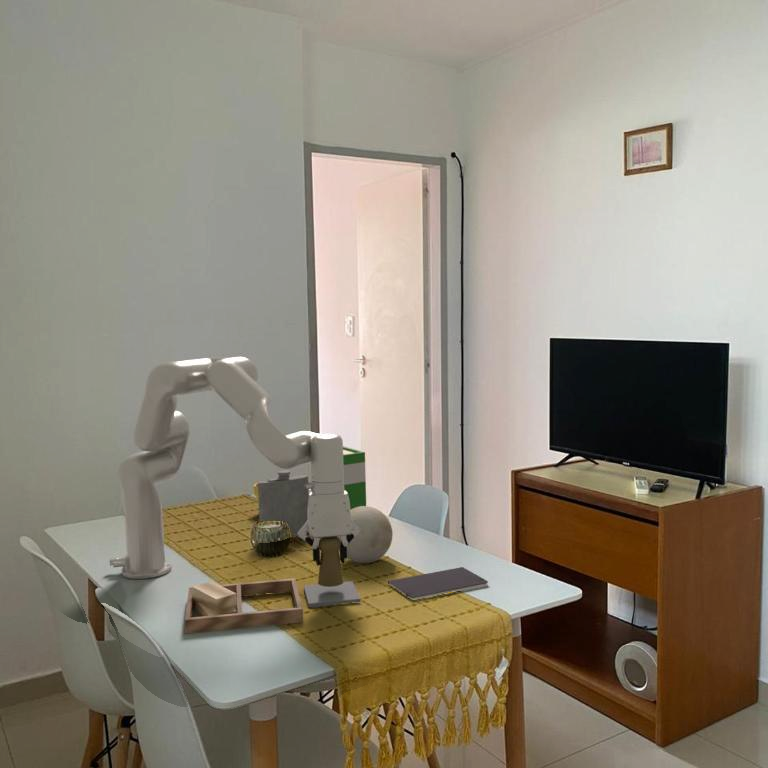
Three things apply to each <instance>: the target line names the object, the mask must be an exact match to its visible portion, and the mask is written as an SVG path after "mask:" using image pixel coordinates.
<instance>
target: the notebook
mask: <svg viewBox="0 0 768 768" xmlns="http://www.w3.org/2000/svg"><path fill="white" fill-rule="evenodd" d="M488 583H489V581H488V580H486V579H485V578H482V577H481V576H480V575H477V574H476V573H474V572H472V571H471V570H469V569H467V568H466V567H464V566H461V567H456V568H455V567H454V568H450V569H445V570H439V571H435V572H434V571H433V572H429V573H423V574H417V575H414V576H413V575H411V576H406V577H402V578H398V579H397V578H396V579H391V580H388V581H387V585H388V584H390V585H392V586H393V587H395V588H396V589H397V590H398V591H400V592H401V593H403V594H404V595H406V597H409V598H410V599H420V598H425V597H429V596H434V595H439V594H444V593H448V592H452V591H461V592H466V591H470V590H471V591H472V590H475V589H480V588H485V587H488ZM390 585H389V586H390ZM393 587H392V588H393ZM396 589H395V590H396ZM397 590H396V591H397ZM398 591H397V592H398ZM400 592H399V593H400ZM401 593H400V594H401ZM403 594H402V595H403ZM404 595H403V596H404ZM406 597H405V598H406ZM410 599H409V600H410Z"/></svg>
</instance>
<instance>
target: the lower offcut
mask: <svg viewBox="0 0 768 768" xmlns="http://www.w3.org/2000/svg"><path fill="white" fill-rule="evenodd" d="M193 609H195V610H196V612H197V613H198V615H200V617H203V616H213V615H224V614H235V613H237V610H236V609H235V607H234V608H231V609H227V610H224V611H221V612H215V611H213V610H211V609H210V608H208V607H206V606H204V605H202V604H200V603H199V602H197V601H195V600H193Z"/></svg>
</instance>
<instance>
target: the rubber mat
mask: <svg viewBox="0 0 768 768" xmlns="http://www.w3.org/2000/svg"><path fill="white" fill-rule="evenodd" d="M303 592H304V595H305V600H306V599H307V600H306V603H307V606H308V608H309V607H312V608H320V607H319V606H323V607H329V606H328V605H334V606H336V605H335V604H342V603H352V602H361V603H362V601H361V596H360V595H359V593H358V590H357V588H356V586H355V584H354V581H343V584H341V585H338V586H334V587H325V586H321V585H319V584H317V583H316V584H307V585H303Z"/></svg>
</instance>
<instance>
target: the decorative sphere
mask: <svg viewBox="0 0 768 768" xmlns="http://www.w3.org/2000/svg"><path fill="white" fill-rule="evenodd" d="M350 511H351V519H352V520H353V521H354V522H355V523H356V524H357V526H358V527H359V528H360V529H361V531H360V532H359V533H358V534H357V535H356V536H355V537H354V538H353V539H352V540H351V542H350V543H349V544H348V546H347V558H346V559H349V560H351V561H352V562H355V563H359V564H371V563H374V562H376V561H379V560H380V559H382V557H384V556H385V555H386V554H387V553H388V551H389V550H390V547H391V545H392V541H393V533H394V532H393V527H392V524H391V522H390V520H389V519H388V517H387V516H386V514H384V512H382V511H381V510H379V509H378V508H376V507H373V506H369V505H366V506H360V507H356V508H353V509H351V510H350ZM352 530H353V528H352ZM352 530H351V531H352ZM345 536H347V535H345ZM336 537H338V538H339V539H340V542H341V538H340V536H336Z"/></svg>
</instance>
